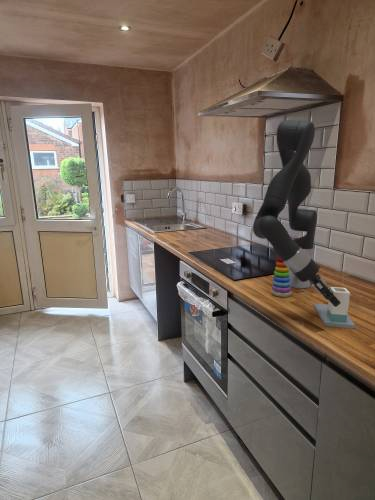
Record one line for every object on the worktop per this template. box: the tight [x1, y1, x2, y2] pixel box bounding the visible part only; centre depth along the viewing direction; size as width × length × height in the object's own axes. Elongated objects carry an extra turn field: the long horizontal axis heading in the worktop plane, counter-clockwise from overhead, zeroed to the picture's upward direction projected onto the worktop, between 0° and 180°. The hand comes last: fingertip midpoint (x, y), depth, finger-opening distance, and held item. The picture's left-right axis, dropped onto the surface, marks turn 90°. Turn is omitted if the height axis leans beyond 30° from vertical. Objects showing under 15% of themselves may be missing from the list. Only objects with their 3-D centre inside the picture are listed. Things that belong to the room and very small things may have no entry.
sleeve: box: [327, 286, 351, 322], centre depth 105 cm, size 5×5×10 cm
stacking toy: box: [270, 253, 292, 298], centre depth 129 cm, size 8×8×19 cm
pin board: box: [313, 303, 356, 329], centre depth 110 cm, size 16×9×6 cm, turn 171°
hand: (334, 299), depth 105 cm, fingers open, 8 cm apart
